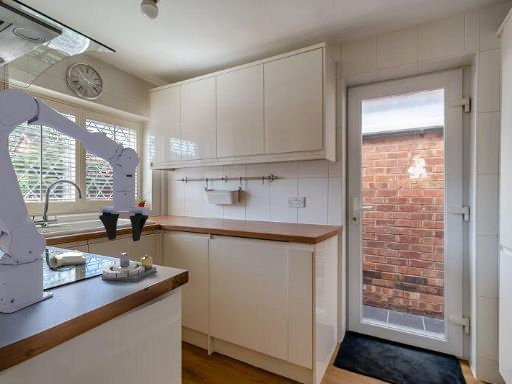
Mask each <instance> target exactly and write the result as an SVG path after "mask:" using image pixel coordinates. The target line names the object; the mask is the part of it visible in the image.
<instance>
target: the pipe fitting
mask: <svg viewBox="0 0 512 384" xmlns="http://www.w3.org/2000/svg"><path fill="white" fill-rule="evenodd" d="M85 261H87V257H86V255H83V253H81V252H80V251H79V250H76V249H75V250H73V251H69V252H67V253H62V254H56V255H55V254H54V255H53V256H51V257H50V258H49V265H50V267H51V268H53V269H57V268H58V267H61V266H74V265H75V266H76V265H82V263H85Z"/></svg>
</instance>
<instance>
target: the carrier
mask: <svg viewBox="0 0 512 384" xmlns="http://www.w3.org/2000/svg"><path fill="white" fill-rule="evenodd" d="M130 263H134V264H136V265H137V266H136V269H133V270H128V271H113V266H115V265H118V264H120V262H119V263H113V264H110V265H107V266H105V267H104V268H103V269H102V274H101V280H106V281H115V282H116V281H117V282H118V281H119V282H129V283H136V282H138V281H140V280H142V279H143V278H146V277H148V276H149V275H152V274H153V273H155V272H157V266H153V257H152V256H149V254H144V255H143V256H142V257H140V259H139V261H130Z"/></svg>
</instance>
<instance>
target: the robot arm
mask: <svg viewBox="0 0 512 384" xmlns="http://www.w3.org/2000/svg"><path fill="white" fill-rule="evenodd" d="M26 122H27V123H26ZM25 123H26V125H27V126H45V127H48V128H51V129H52V130H54V131H56V132H59V133H61V134H63V135H65V136H68V137H69V138H71V139H74V140H76V141H77V142H80V143H81V144H82V147H83V149H84V150H85V151H87V152H88V153H91V154H92V155H94V156H96V157H97V158H100V159H102V160H104V161H106V162H108V163H109V164H108V165H110V166H111V167H112V205H111V206H110V205H108V206H106V205H105V206H99V207H98V214H101V215H99V216H98V219H99V220H100V221H101V223H102V224H103V226H104V230H105V232H106V236H107V238H108V241H113V240H116V239H117V226H118V220H119V216H120V215H129V217H128V218H129V220H130V223H131V230H132V231H131V232H132V233H131V235H132V236H131V237H132V242H138V241H140V239H141V235H142V232H143V229H144V227H145V224H146V222H147V221H148V219H149V215H151V214H150V212H151V211H150V210H151V209H150V208H151V207H147V206H146V207H143V206H136V173H137V167H138V166H139V164H140V162H141V158H140V157H139V155H138V153H137V151H136V150H135V149H134V148H132V147H127V146H126V147H124V144H123V143H122V142H118V141H116V140H115V139H112V138H110V137H109V136H107V134H108V133H106V132H105V131H104V130H102V131H99V130H93V131H90V130H87V129H86V128H85V127H84V126H81V125H80V124H78V123H77V122H75V121H74V120H72V119H70V118H69V117H67V116H65V115H64V114H62V113H61V112H59V111H57V110H56V109H54V108H53V107H52V106H50V105H49V104H47V103H46V102H45V101H43V100H42V99H40V98H37V97H36V96H32V95H31V94H29V93H28V92H26V91H24V90H23V89H19V88H12V87H11V88H6V89H3V90H2V91H0V251H1V252H2V253H3V254H2V256H1V257H0V313H5V314H6V313H7V314H11V313H14V312H17V311H19V310H22V309H24V308H27V307H28V306H30V305H33V304H35V303H38V302H41V301H43V300H46V299H48V298H49V297H53V296H54V295H55V293H54V292H47V291H44V254H43V253H44V252H45V250H46V247H47V240H46V238H45V236H44V235H43V234H42V233H40V232H39V231H38V229H37V226H36V224H35V222H34V220H33V218H32V217H31V215H30V214H29V211H28V208H27V205H26V202H25V199H24V195H23V193H22V189H21V186H20V182H19V180H18V177H17V174H16V171H15V167H14V165H13V161H12V158H11V155H10V152H9V149H8V145H7V142H6V139H7V138H8V137H9V136H10V135H11V133H12V132H14V131H15V130H16V128H17V127H19V126H20V125H22V124H25Z"/></svg>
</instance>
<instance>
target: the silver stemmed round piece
mask: <svg viewBox="0 0 512 384" xmlns="http://www.w3.org/2000/svg"><path fill="white" fill-rule="evenodd" d="M130 262H131V261H130V252H120V253H119V263H120V264H118V265H115V266H113V271H128V270H133V269H136V266H137V265H136V264H134V263H130Z"/></svg>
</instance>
